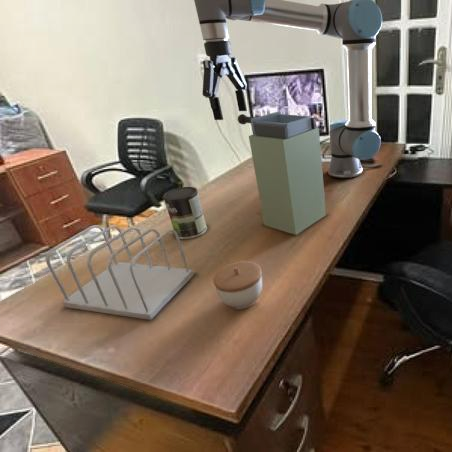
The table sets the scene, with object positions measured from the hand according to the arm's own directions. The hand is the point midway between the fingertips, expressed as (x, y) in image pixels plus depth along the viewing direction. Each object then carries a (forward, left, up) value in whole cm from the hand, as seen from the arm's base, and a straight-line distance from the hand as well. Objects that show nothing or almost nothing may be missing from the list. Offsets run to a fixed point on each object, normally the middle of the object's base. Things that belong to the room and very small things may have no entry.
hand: (231, 115), depth 113 cm
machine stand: (-10, +17, -34) cm, 40 cm away
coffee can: (+22, +3, -34) cm, 41 cm away
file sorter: (+41, +28, -34) cm, 60 cm away
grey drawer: (-8, +12, -4) cm, 15 cm away
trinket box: (+18, +48, -34) cm, 62 cm away
